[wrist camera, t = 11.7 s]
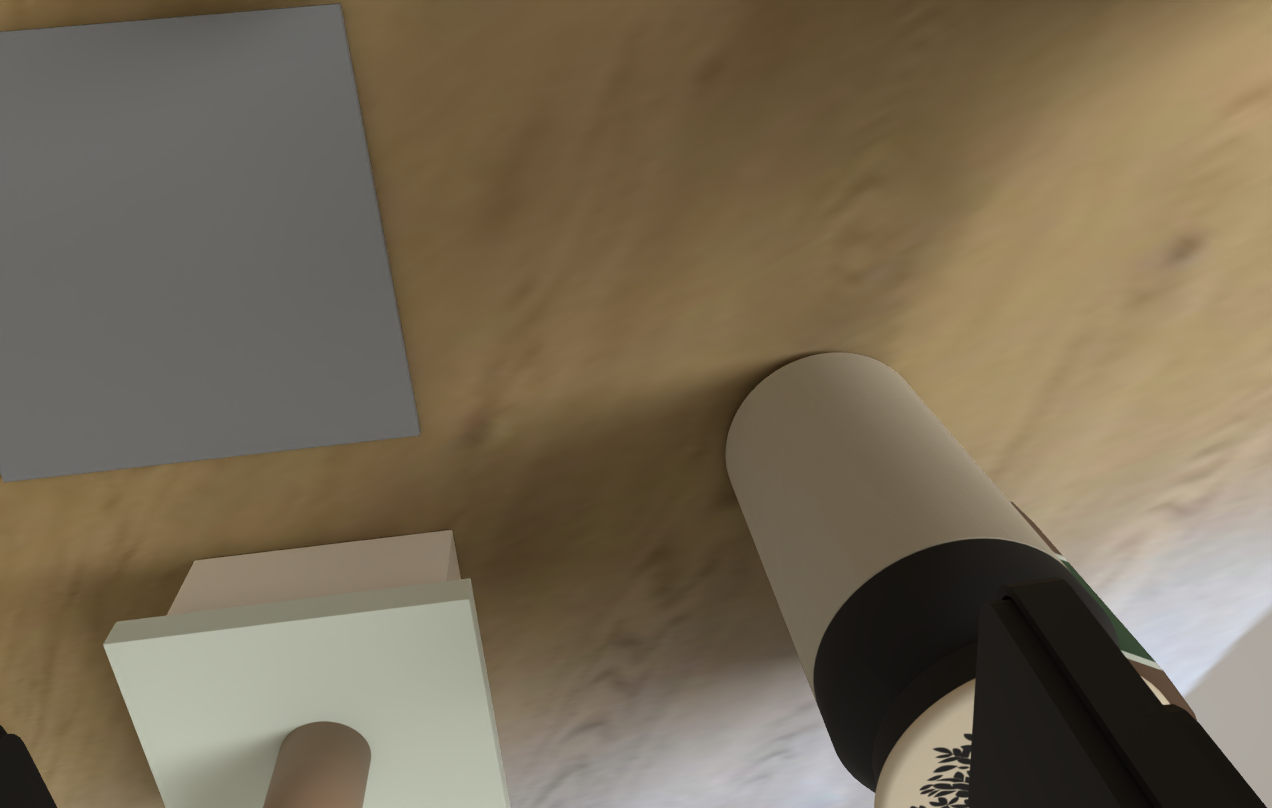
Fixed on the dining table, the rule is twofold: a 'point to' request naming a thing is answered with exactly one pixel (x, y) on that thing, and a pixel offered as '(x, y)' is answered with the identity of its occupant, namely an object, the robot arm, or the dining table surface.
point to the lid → (316, 702)
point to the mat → (190, 246)
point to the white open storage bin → (318, 571)
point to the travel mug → (881, 564)
